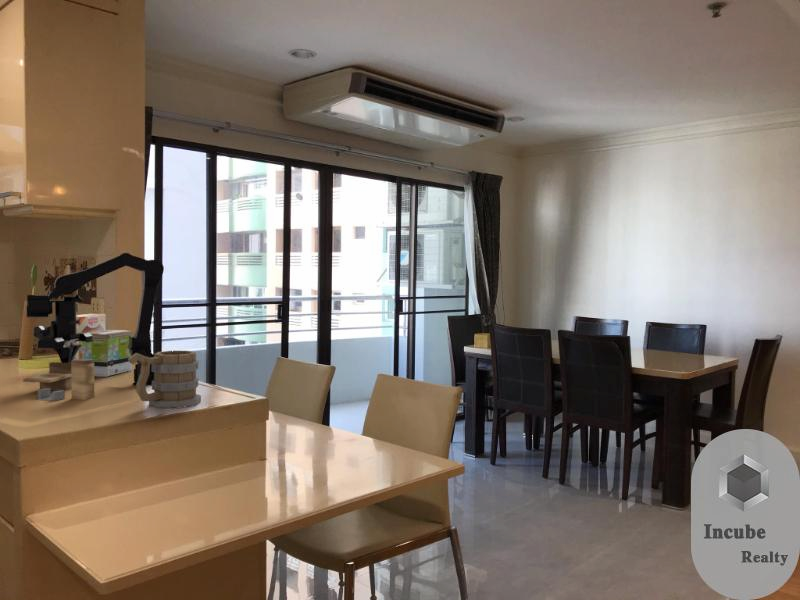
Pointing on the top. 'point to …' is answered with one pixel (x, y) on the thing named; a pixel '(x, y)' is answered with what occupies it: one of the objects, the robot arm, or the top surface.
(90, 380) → the wooden block
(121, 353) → the tea box
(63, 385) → the open wooden box
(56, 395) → the grey rounded piece
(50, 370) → the lid
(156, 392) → the tankard
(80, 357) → the coffeecake box
